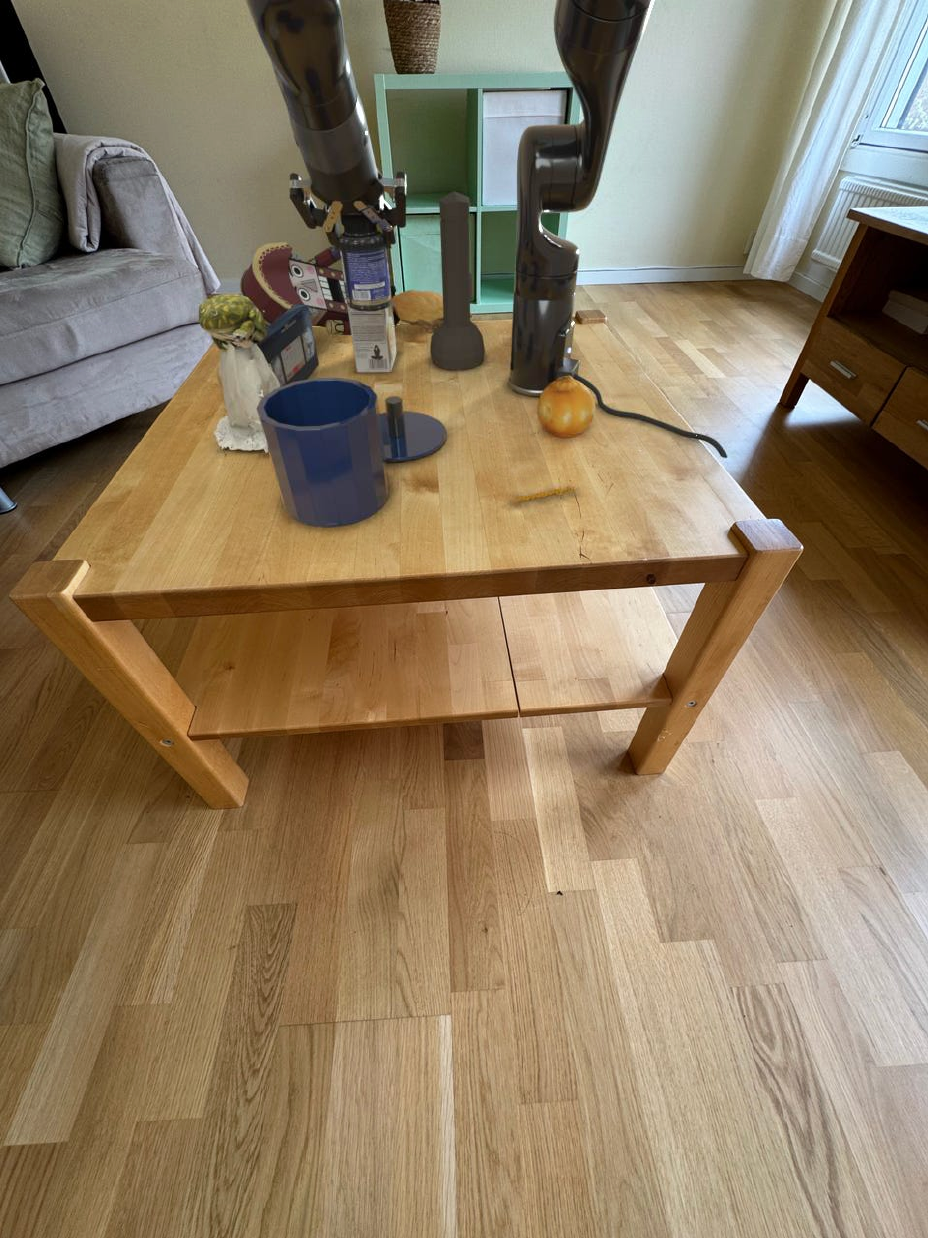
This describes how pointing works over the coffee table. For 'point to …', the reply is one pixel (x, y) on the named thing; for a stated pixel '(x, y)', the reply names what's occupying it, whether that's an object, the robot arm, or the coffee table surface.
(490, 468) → the coffee table surface
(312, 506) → the tin
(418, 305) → the orange wide rounded piece
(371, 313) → the coffee box
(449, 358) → the flashlight
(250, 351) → the frog
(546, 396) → the fruit
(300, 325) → the vhs cassette tape
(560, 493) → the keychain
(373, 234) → the pill bottle
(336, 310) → the toy
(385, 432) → the lid
